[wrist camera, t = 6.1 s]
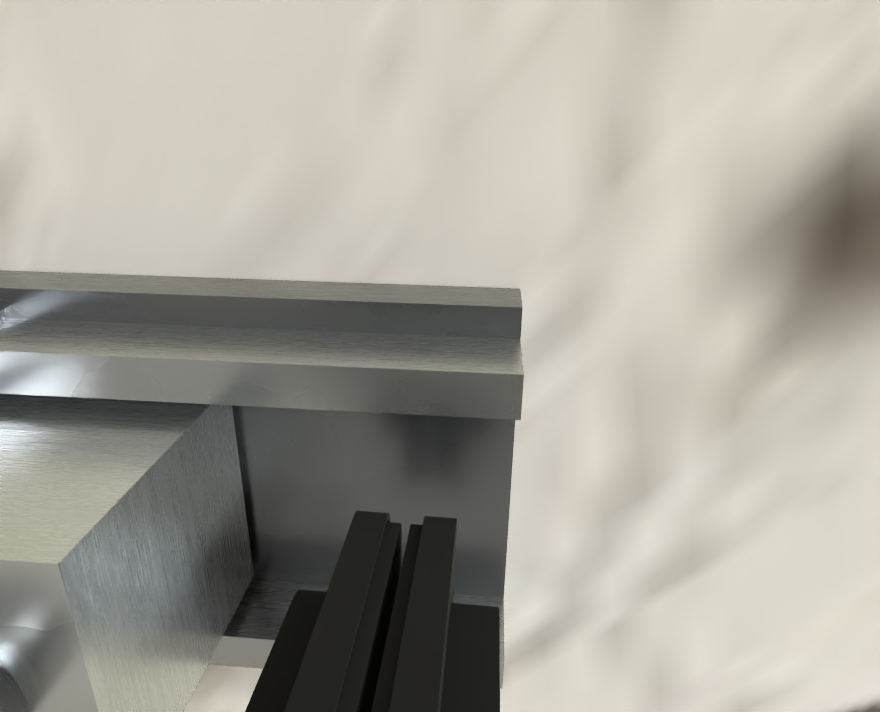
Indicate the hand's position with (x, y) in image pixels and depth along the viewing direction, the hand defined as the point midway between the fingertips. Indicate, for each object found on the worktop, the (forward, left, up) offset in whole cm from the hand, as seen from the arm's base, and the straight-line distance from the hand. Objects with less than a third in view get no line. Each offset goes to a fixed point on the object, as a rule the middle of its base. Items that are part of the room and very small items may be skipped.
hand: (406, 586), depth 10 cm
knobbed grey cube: (+1, -6, -2) cm, 6 cm away
